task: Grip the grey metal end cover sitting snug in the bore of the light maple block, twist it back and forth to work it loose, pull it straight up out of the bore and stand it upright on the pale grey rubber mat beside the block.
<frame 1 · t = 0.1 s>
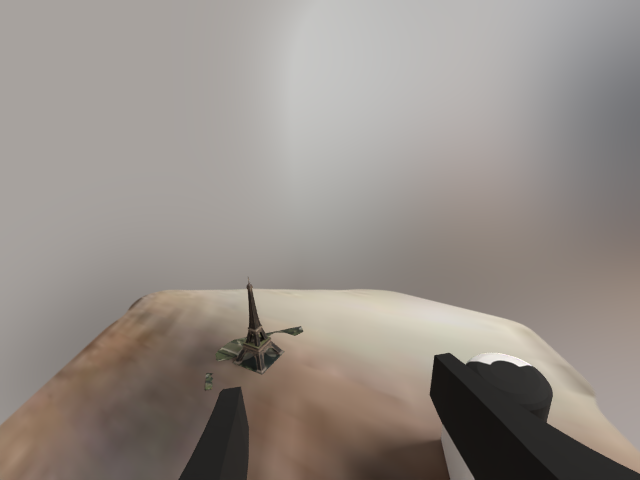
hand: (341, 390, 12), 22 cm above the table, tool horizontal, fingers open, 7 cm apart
eiffel tower figurine: (260, 358, 47), on the table
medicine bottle: (488, 479, 29), on the table
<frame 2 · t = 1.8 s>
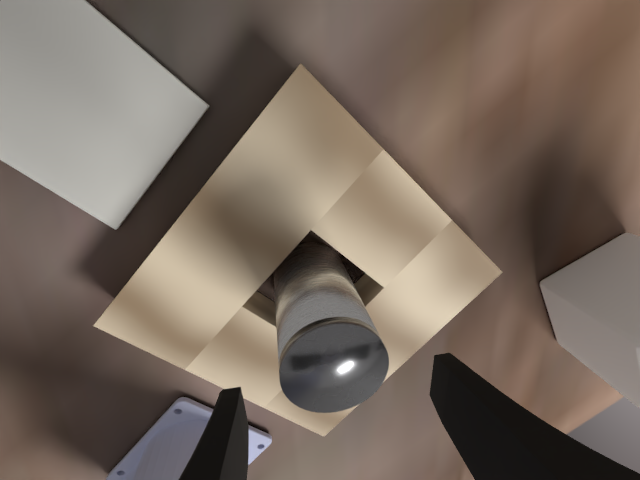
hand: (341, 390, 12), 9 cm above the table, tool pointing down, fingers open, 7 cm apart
bore block: (309, 275, 20), on the table
end cover: (319, 312, 16), in the bore block
mat: (83, 112, 15), on the table
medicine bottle: (585, 288, 25), on the table
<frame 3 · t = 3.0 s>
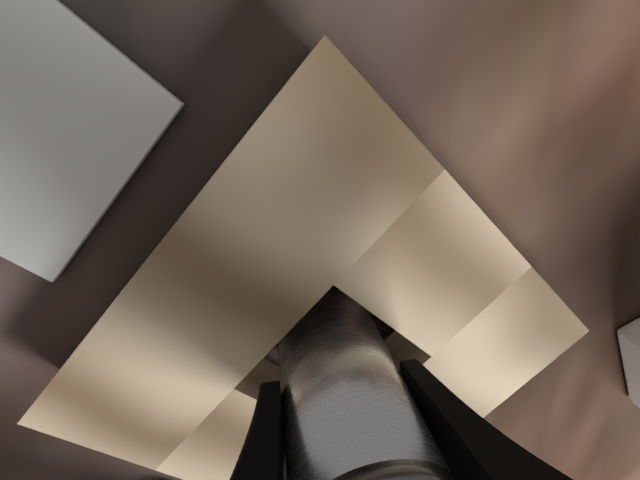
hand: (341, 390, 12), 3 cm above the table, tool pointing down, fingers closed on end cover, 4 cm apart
bore block: (325, 331, 15), on the table
end cover: (345, 404, 11), in the bore block, touching gripper
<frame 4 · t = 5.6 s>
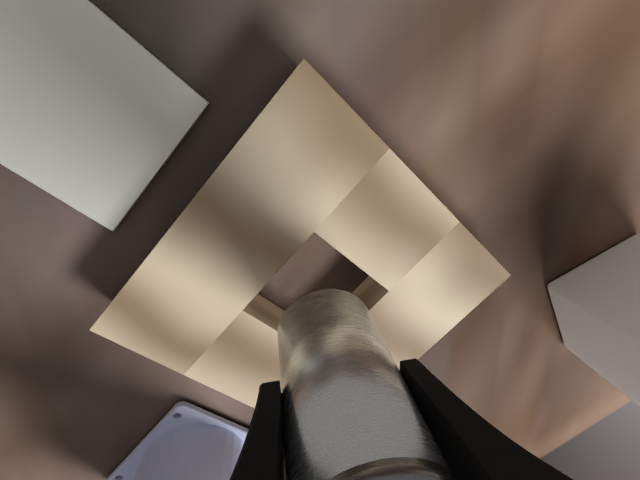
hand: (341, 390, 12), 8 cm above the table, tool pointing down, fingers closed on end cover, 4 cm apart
bore block: (311, 277, 19), on the table
end cover: (345, 402, 11), point 9 cm above the table, touching gripper
mat: (77, 109, 14), on the table
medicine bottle: (594, 291, 24), on the table
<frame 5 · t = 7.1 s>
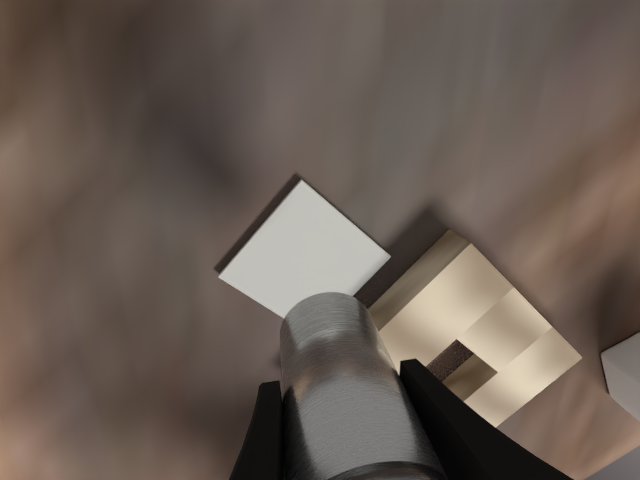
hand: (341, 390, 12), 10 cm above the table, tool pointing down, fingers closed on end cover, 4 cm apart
bore block: (433, 357, 26), on the table
end cover: (344, 405, 11), point 11 cm above the table, touching gripper
mat: (307, 263, 21), on the table
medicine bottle: (634, 355, 31), on the table
when the fingers open (5 cm above the table, at t = 8.4 s): end cover drops 1 cm, resting on mat.
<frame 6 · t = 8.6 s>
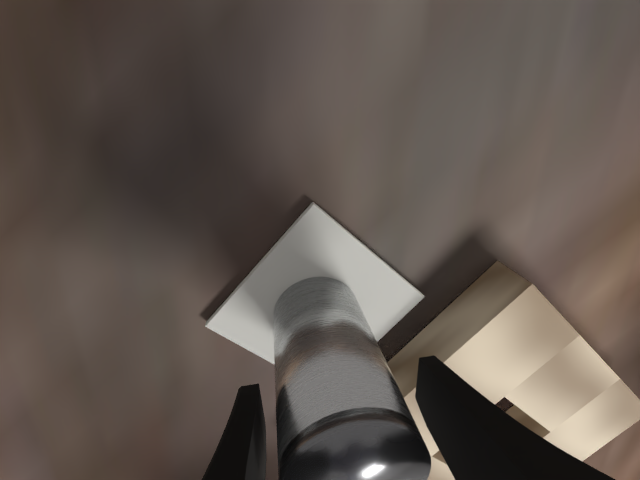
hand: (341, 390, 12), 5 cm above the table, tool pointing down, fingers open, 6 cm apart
bore block: (468, 408, 22), on the table
end cover: (331, 374, 13), on the mat
mat: (318, 306, 17), on the table
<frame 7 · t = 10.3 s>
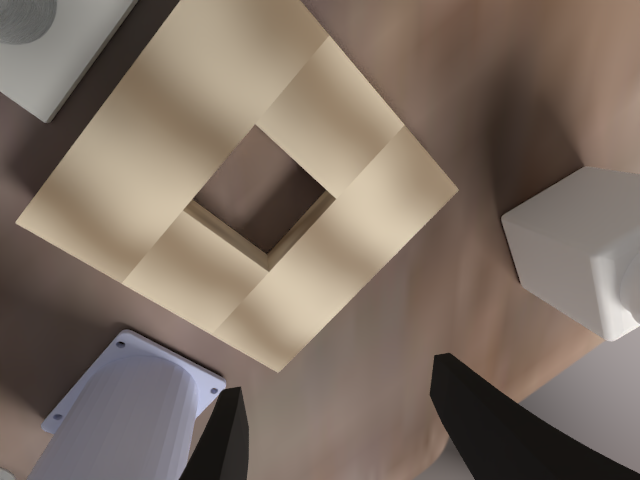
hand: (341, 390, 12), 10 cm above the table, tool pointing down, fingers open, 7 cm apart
bore block: (261, 193, 19), on the table
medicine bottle: (547, 228, 24), on the table
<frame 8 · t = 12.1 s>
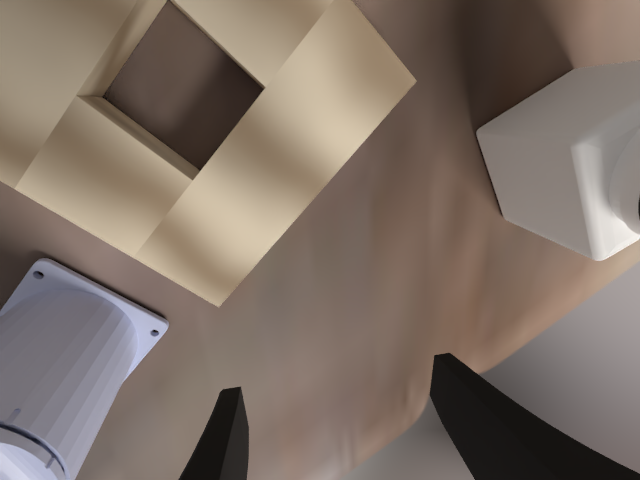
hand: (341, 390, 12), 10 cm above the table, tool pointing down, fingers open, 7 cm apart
bore block: (186, 93, 16), on the table
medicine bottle: (533, 149, 21), on the table
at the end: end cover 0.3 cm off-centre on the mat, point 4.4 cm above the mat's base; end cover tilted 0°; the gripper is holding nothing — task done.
